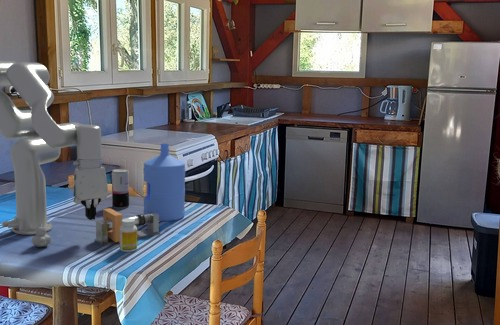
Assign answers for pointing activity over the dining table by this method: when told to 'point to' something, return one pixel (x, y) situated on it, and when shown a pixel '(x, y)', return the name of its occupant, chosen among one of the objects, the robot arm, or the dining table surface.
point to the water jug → (165, 186)
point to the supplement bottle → (128, 235)
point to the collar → (113, 223)
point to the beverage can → (120, 188)
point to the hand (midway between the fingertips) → (90, 218)
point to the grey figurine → (41, 237)
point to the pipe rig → (140, 220)
